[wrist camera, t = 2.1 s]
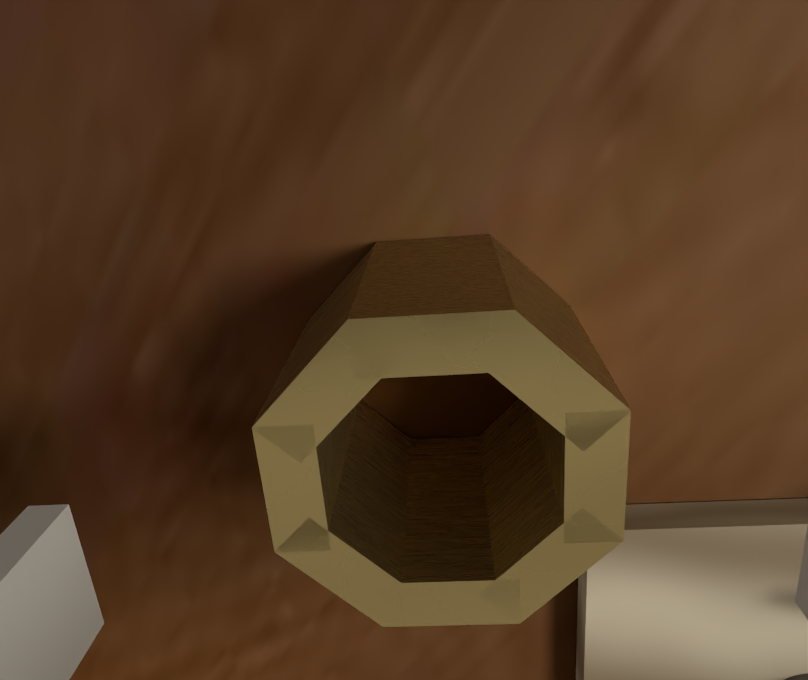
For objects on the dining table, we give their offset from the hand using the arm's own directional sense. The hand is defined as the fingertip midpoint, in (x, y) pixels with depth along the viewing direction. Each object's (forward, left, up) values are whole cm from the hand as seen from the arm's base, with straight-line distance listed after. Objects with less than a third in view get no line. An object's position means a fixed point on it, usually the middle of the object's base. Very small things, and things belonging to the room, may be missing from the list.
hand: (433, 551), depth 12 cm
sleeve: (0, 0, -8) cm, 8 cm away
